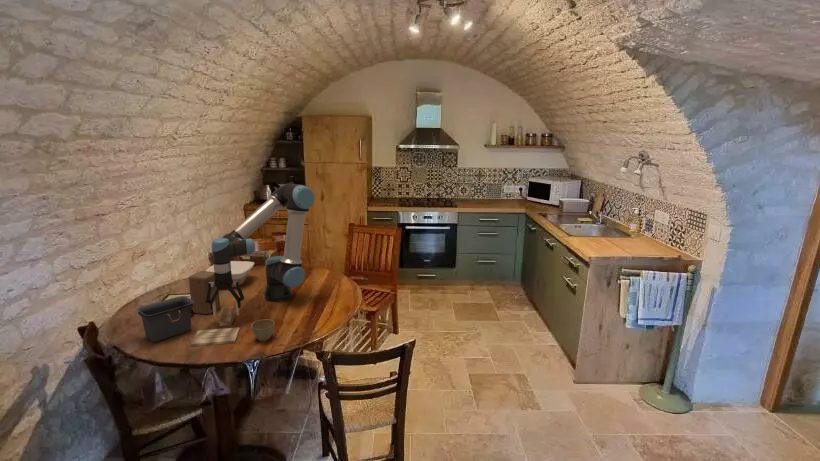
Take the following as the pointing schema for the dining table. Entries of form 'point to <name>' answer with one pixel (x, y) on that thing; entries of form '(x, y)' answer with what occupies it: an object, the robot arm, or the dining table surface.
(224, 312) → the block
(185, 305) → the storage bin
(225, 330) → the board
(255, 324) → the flower pot
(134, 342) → the dining table surface
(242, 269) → the bowl
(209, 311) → the wooden block
